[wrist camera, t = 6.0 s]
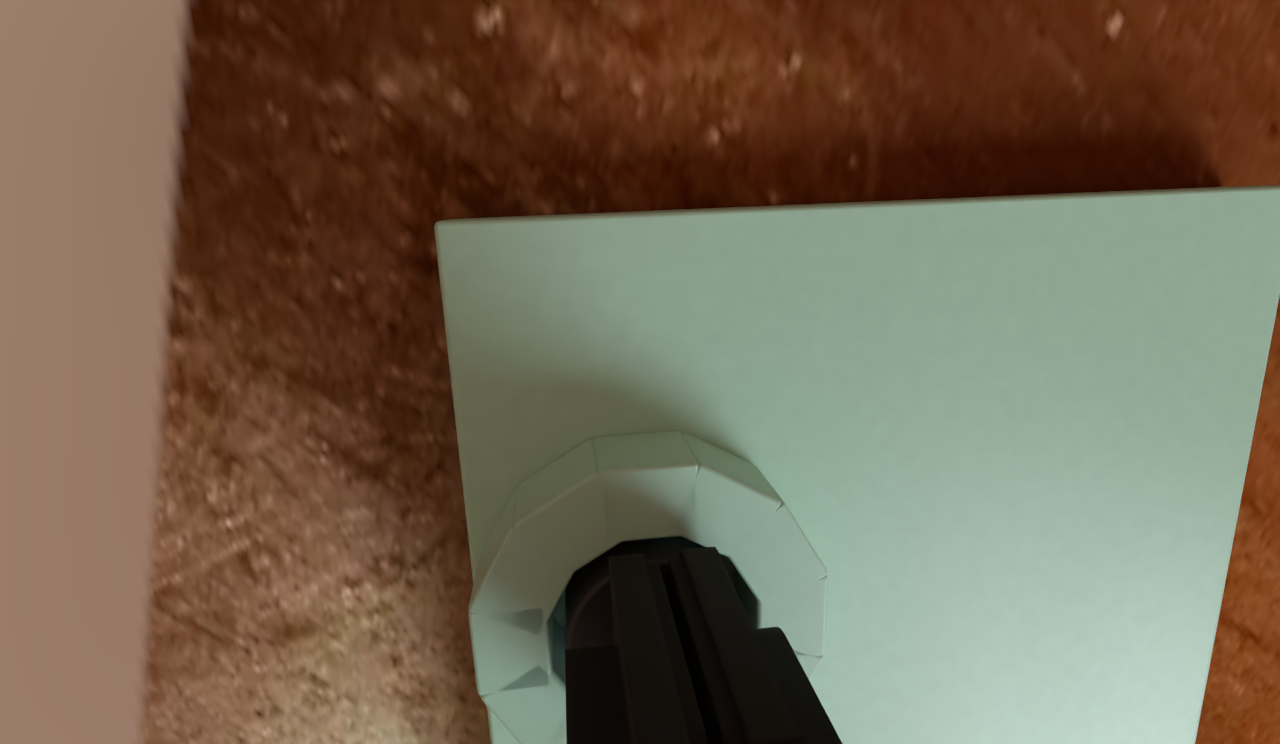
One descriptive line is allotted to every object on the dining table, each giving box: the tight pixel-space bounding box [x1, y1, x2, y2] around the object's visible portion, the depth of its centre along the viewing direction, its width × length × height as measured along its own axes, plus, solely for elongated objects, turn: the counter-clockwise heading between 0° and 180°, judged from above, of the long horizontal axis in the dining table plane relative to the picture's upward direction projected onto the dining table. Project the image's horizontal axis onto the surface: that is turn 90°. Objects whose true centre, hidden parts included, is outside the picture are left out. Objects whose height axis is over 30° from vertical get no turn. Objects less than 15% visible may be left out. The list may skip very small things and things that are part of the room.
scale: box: [434, 185, 1280, 744], centre depth 13 cm, size 15×13×3 cm
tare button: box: [565, 536, 705, 649], centre depth 11 cm, size 3×3×2 cm
